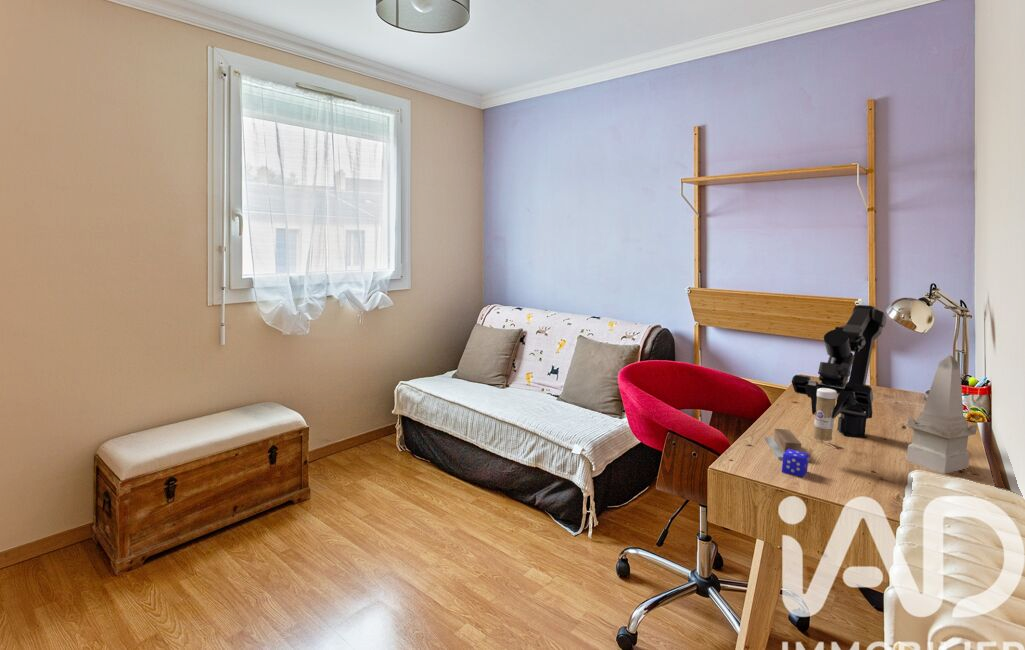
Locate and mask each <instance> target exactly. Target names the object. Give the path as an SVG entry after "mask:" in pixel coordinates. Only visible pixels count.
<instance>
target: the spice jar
mask: <svg viewBox="0 0 1025 650" xmlns="http://www.w3.org/2000/svg"><path fill="white" fill-rule="evenodd" d="M837 397H838V394H837V391H835V390H833V389H828V388H819V389H817V404H816V412H815V414H814V422H813V424H814V425H813V426H814V427H813V434H812V437H813V438H814V439H816V440H819V441H823V442H828V441H832V440H833V429H834V421H835V420H834V419H835V418H834V419H833V418H832V414H833V410H834V408H835V406H836V401H837Z"/></svg>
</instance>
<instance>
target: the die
mask: <svg viewBox="0 0 1025 650" xmlns="http://www.w3.org/2000/svg"><path fill="white" fill-rule="evenodd" d="M808 457H809V458H810V453H809V452H805V451H804V452H800V451H796V450H791V449H787V451H786V452H785V453H784V454H783V460H782V464H781V473H783V474H786V475H787V474H788V475H791V476H795V477H798V478H799V477H800V478H804V477H805V475H806V474H807V472H808V467H809V466H808V465H809V462H808Z"/></svg>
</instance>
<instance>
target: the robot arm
mask: <svg viewBox="0 0 1025 650" xmlns="http://www.w3.org/2000/svg"><path fill="white" fill-rule="evenodd" d="M886 324H887V317H886V313H885V312H883V311H881V310H879V309H876V307H875V306H873V305H869V304H868V305H866V304H858V305H855V306H854V308H853V310H852V313H851V315H850V317H849V319H848V320H847V322H846V323H845V324H844V325H842V326H835V329H832V330H829V331H827V332H826V333H825V334H824V336H823V341H824V345H825V349H826V353H827V355H828V356H829V357H828V361H827V362H825V361H820V363H819V367H818V372H817V374H818V380H819V381H820V382H818V381H817V380H812V379H811V377H810V376H807V375H801V374H795V375H794V376H793V377H792V379H791V384H792V388H793V391H794V393H796V394H802V395H806V396H807V397H808V398H809V399H810V403H811V414H812V415H814V416H815V413H816V404H817V389H819V388H828V389H833V390H835V391H837V397H836V402H835V408H834V410H833V414H832V418H833V419H835V418H836V417H838V416H839V415H840V416H839V417H838V419H837V428H836V430H837V431H838V432H840V434H842V435H843V436H846V437H855V438H857V437H858V438H868V435H867V434H866V427H867V420H868V419H872V418H873V410H874V409H873V401H874V394H873V388H872V387H871V386H870V385H866V383H867V379H868V378H867V377H868V373H869V367H870V362H871V356H872V353H873V352H872V351H873V347H874V342H875V340H876V339H878V338H879V336H881V335H882V332H883V328H885V327H886Z"/></svg>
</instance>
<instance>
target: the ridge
mask: <svg viewBox="0 0 1025 650" xmlns="http://www.w3.org/2000/svg"><path fill="white" fill-rule="evenodd" d="M764 440H766V441H765V442H766V443H768V444H767V445H768V446H770V447H769V448H770V449H772V450H771V451H772V452H773V455H774V456H775V457H776V458H777V460H779V459H780V460H781V461H783V454H784V453H785V452H786V451H787V449H791V450H796V451H800V452H805V451H804V450H803V448H802V443H801V441H800V440H799V439H798V438H797V437H796V436H795V434H794V433H793V432H792V431H791V430H790V429H786V428H785V429H783V428H774V434H773V437H769V436H768V437H764ZM780 460H779V461H780ZM811 462H812V461H811V458H810V456H809V457H808V463H811Z"/></svg>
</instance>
